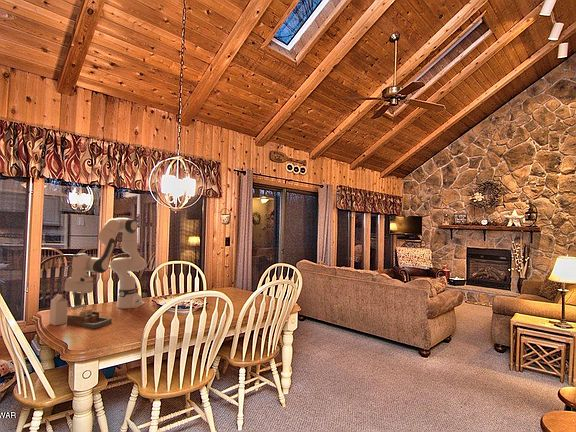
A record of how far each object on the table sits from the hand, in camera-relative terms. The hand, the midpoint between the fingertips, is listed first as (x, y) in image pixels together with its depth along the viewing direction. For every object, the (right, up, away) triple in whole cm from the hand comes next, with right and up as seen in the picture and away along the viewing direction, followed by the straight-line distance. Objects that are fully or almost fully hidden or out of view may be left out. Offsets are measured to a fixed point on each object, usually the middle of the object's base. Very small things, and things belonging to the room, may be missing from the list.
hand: (78, 298), depth 229 cm
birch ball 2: (+7, -9, +1) cm, 12 cm away
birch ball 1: (+6, -9, -4) cm, 11 cm away
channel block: (+4, -16, -1) cm, 17 cm away
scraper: (0, -6, 0) cm, 6 cm away
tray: (+15, -17, -4) cm, 22 cm away
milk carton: (-11, -16, -4) cm, 19 cm away
